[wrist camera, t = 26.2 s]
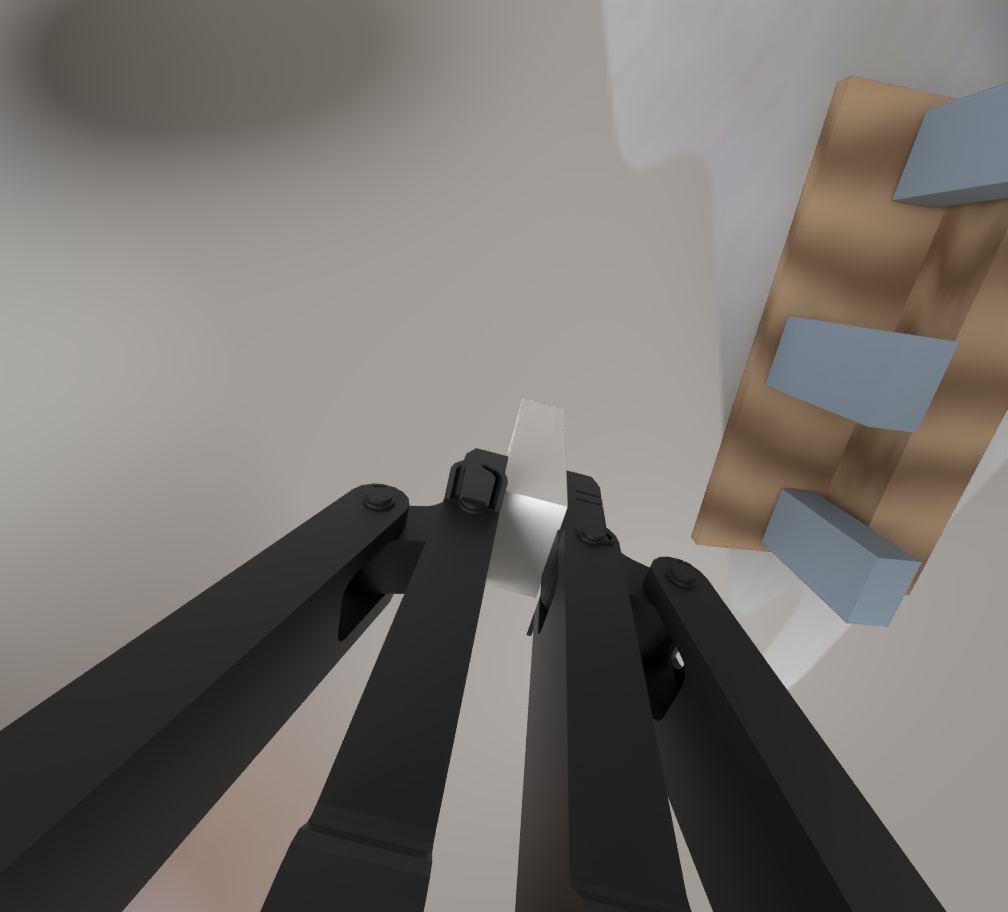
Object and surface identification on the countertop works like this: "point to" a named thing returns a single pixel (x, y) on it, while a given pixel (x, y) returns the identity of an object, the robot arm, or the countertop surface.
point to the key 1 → (840, 558)
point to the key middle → (860, 371)
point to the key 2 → (959, 153)
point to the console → (876, 305)
